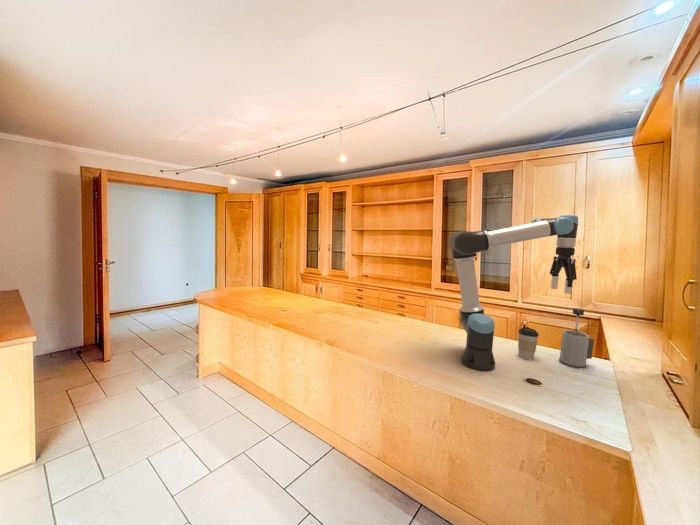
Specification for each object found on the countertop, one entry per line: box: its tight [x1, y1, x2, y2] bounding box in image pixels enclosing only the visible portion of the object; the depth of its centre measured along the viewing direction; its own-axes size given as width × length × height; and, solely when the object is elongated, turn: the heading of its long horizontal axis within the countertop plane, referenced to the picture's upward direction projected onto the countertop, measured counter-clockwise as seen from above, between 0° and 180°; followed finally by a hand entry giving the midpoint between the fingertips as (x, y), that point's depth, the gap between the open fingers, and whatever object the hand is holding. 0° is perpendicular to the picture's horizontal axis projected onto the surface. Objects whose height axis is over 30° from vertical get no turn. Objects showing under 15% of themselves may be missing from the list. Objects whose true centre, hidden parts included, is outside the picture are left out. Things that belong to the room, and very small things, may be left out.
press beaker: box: [558, 329, 595, 369], centre depth 147 cm, size 13×11×15 cm
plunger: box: [572, 307, 585, 336], centre depth 146 cm, size 7×7×15 cm
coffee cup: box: [517, 326, 539, 360], centre depth 154 cm, size 9×9×15 cm
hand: (560, 291), depth 147 cm, fingers open, 11 cm apart
